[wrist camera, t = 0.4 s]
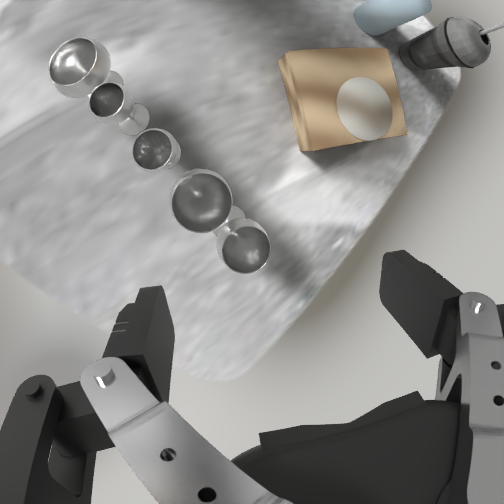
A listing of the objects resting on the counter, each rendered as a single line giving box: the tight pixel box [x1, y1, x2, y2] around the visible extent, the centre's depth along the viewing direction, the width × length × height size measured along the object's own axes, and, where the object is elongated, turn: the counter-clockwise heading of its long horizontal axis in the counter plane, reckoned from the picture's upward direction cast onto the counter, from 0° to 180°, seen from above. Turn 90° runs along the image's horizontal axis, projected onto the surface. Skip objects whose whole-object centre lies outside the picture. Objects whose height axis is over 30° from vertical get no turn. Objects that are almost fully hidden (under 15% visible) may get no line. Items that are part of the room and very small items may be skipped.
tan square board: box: [278, 48, 407, 151], centre depth 34 cm, size 12×14×4 cm
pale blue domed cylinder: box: [354, 0, 432, 36], centre depth 28 cm, size 5×5×11 cm
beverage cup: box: [400, 17, 504, 70], centre depth 26 cm, size 7×7×20 cm
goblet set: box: [49, 37, 271, 274], centre depth 28 cm, size 28×6×13 cm, turn 40°
